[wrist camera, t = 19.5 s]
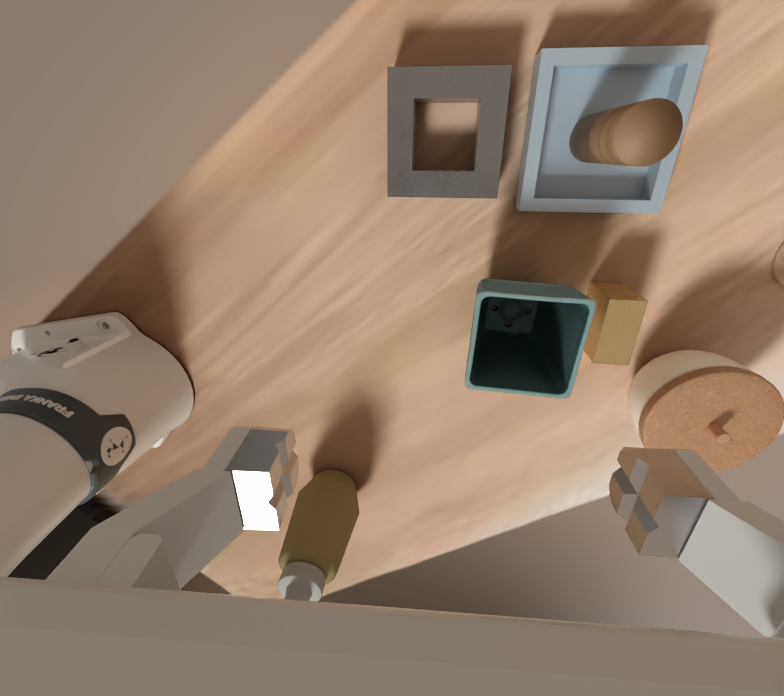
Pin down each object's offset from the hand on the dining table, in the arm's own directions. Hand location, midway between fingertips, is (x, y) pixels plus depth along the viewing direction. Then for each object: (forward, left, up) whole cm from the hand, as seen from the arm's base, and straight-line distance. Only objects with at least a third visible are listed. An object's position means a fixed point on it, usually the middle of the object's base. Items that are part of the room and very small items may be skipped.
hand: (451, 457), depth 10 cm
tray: (+11, +8, -30) cm, 33 cm away
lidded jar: (+23, -14, -31) cm, 41 cm away
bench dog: (+15, -7, -30) cm, 35 cm away
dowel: (+11, +8, -30) cm, 33 cm away
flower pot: (+7, -7, -31) cm, 32 cm away
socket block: (-1, +8, -30) cm, 31 cm away
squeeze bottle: (-13, -33, -31) cm, 47 cm away
